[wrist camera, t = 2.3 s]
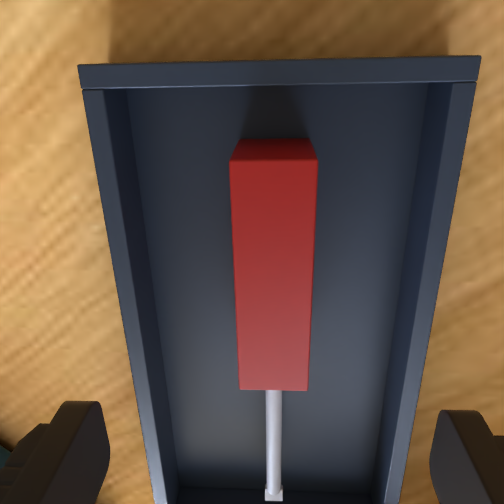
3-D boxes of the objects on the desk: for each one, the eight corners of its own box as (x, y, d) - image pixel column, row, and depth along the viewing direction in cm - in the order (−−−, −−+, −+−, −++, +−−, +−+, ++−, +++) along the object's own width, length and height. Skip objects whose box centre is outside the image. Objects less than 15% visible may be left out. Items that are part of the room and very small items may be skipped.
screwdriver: (238, 138, 18) (228, 159, 14) (310, 137, 18) (318, 158, 14) (249, 467, 26) (245, 533, 23) (298, 468, 26) (302, 535, 22)
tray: (107, 63, 17) (76, 64, 15) (450, 55, 16) (482, 55, 14) (170, 488, 28) (159, 533, 25) (380, 496, 27) (391, 543, 25)
